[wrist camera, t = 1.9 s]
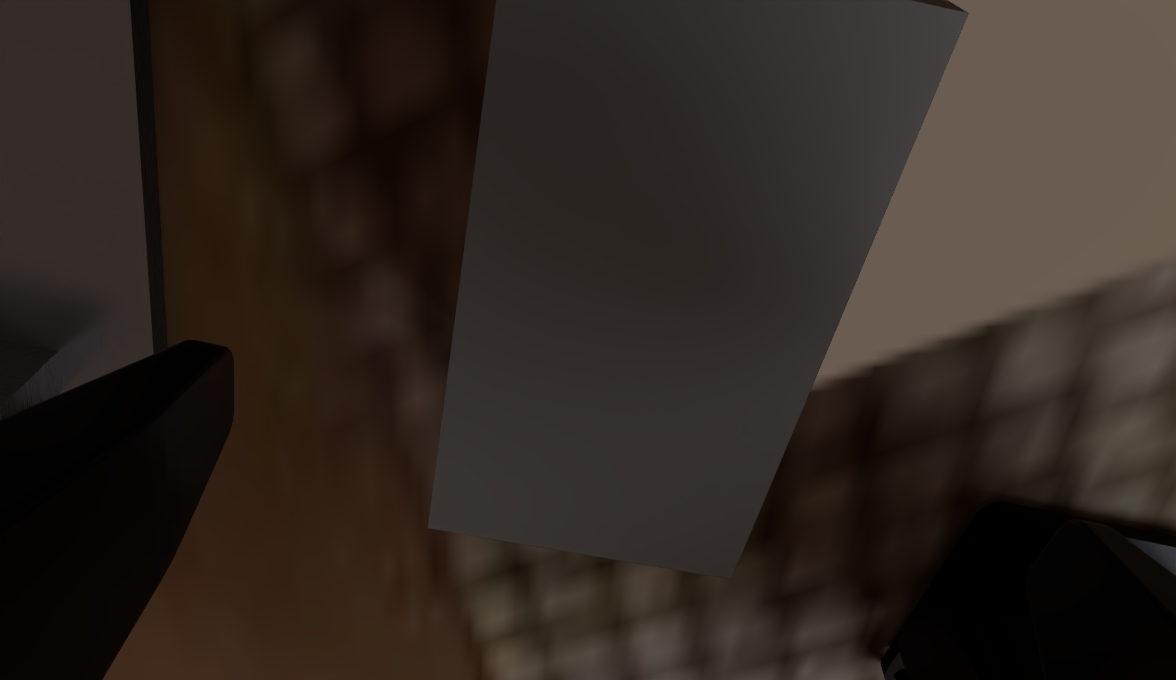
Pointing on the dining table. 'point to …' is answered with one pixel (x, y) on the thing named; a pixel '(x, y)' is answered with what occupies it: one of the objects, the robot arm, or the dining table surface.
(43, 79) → the side mount
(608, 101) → the tan and grey block
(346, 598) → the dining table surface
